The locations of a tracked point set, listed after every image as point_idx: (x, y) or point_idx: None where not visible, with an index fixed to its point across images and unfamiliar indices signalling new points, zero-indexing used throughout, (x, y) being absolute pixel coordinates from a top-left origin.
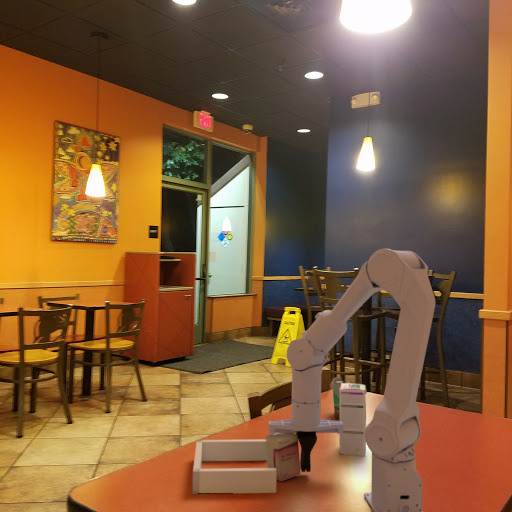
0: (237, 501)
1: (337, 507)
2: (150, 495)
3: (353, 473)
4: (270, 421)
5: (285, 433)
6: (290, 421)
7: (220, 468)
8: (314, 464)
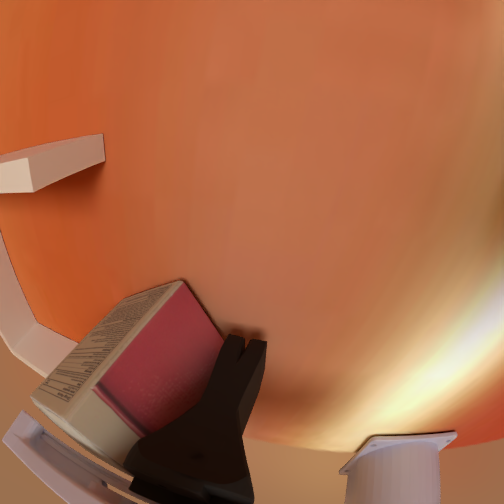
0: None
1: (289, 445)
2: None
3: (450, 342)
4: (8, 446)
5: (89, 449)
6: (72, 493)
7: (33, 365)
8: (338, 233)
